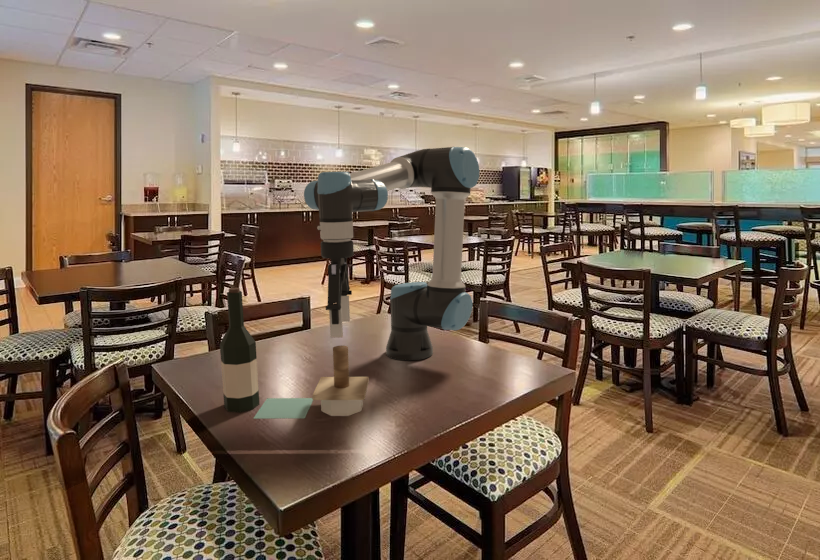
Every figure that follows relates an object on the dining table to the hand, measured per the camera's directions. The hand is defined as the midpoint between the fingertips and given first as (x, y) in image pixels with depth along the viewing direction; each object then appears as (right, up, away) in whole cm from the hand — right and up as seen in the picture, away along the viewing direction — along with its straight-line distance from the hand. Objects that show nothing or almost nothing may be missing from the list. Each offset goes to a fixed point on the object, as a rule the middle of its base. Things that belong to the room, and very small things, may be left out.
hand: (340, 329), depth 128 cm
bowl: (0, -20, +3) cm, 20 cm away
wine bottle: (-25, -20, +5) cm, 32 cm away
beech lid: (0, -15, +2) cm, 15 cm away
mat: (-14, -20, +3) cm, 25 cm away
